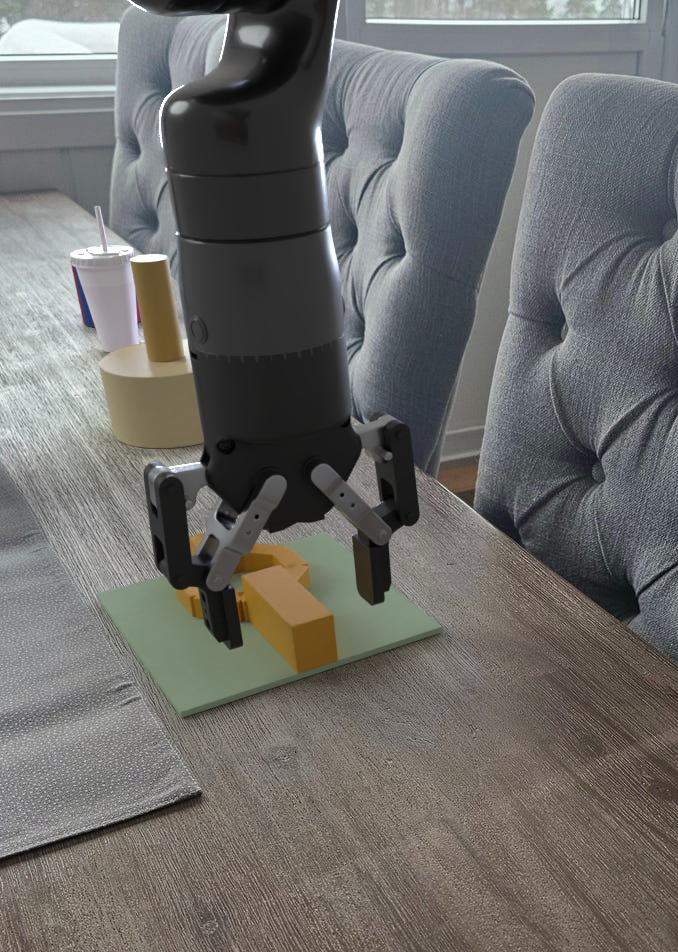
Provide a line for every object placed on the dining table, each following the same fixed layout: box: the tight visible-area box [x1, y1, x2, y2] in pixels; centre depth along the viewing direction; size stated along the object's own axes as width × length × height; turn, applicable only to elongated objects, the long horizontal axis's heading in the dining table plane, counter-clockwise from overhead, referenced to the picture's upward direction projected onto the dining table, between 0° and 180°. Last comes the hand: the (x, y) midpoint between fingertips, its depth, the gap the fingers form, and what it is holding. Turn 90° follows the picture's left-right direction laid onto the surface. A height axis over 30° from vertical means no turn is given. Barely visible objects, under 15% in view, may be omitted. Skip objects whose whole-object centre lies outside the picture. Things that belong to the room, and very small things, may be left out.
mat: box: [95, 531, 443, 719], centre depth 69 cm, size 16×16×1 cm
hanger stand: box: [98, 253, 204, 449], centre depth 94 cm, size 11×11×14 cm
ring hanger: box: [176, 532, 338, 673], centre depth 68 cm, size 16×8×3 cm, turn 32°
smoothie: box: [69, 205, 140, 353], centre depth 115 cm, size 6×6×14 cm
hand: (302, 620), depth 62 cm, fingers open, 8 cm apart
